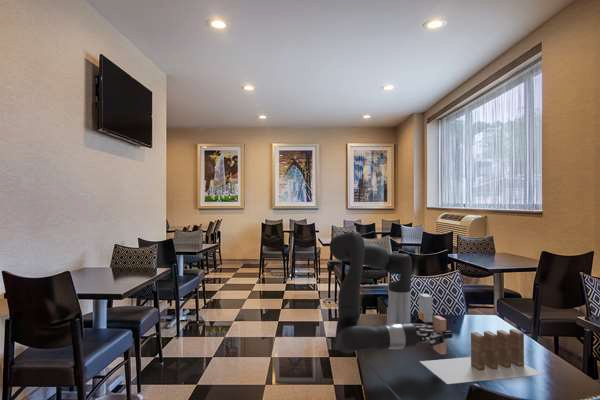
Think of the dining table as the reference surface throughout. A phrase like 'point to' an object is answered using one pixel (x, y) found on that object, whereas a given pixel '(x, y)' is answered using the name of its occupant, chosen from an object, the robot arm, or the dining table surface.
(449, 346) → the dining table surface
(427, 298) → the skincare box
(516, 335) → the domino
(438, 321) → the loose domino
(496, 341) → the domino
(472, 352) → the domino
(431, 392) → the dining table surface
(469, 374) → the mat
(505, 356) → the domino
